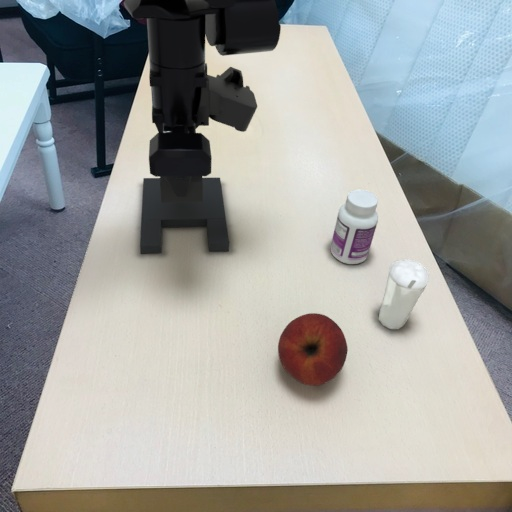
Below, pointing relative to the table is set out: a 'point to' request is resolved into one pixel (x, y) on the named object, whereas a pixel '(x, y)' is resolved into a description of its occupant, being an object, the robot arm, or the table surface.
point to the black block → (192, 193)
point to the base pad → (183, 215)
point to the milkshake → (402, 292)
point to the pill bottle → (355, 227)
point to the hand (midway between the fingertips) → (180, 183)
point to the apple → (312, 349)
